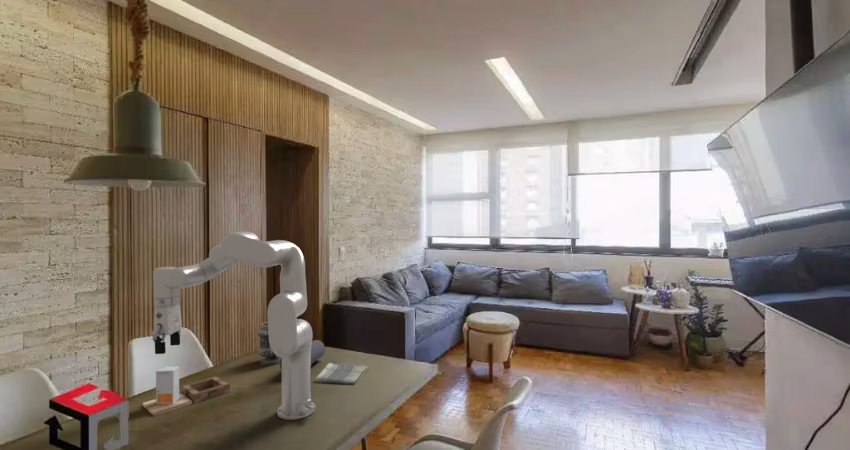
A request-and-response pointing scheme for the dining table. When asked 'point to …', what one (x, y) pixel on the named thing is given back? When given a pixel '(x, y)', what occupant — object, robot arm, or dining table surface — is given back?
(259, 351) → the grey tall piece
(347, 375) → the dish towel
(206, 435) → the dining table surface
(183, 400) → the pad
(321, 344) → the bluetooth speaker
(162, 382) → the skincare box
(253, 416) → the dining table surface
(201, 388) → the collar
